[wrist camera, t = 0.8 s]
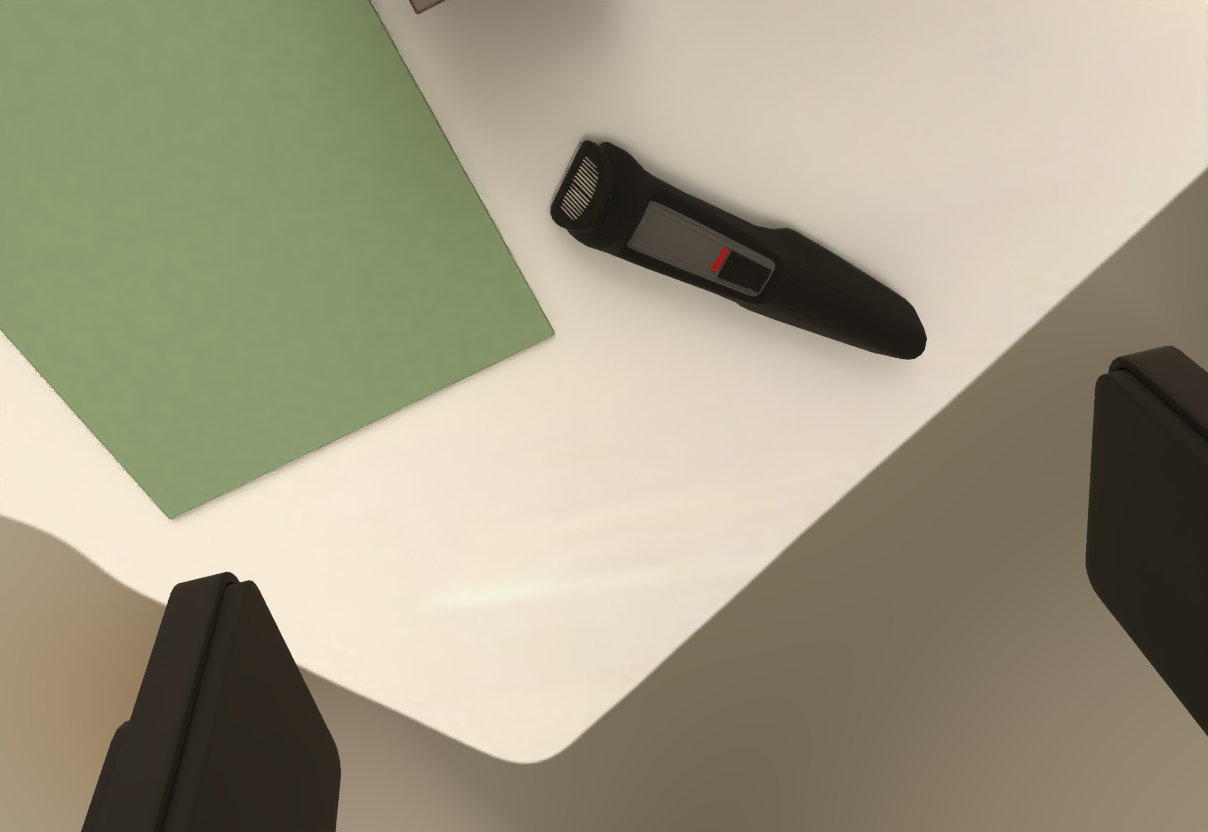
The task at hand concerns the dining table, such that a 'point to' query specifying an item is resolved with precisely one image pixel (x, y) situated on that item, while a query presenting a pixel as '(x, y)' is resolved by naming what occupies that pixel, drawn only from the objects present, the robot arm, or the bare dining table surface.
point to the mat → (236, 232)
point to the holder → (423, 5)
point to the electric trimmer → (729, 254)
